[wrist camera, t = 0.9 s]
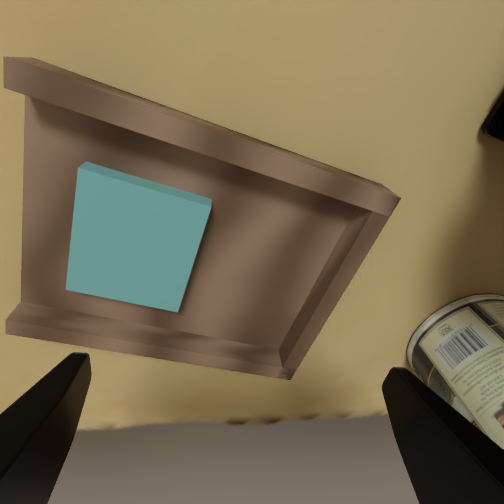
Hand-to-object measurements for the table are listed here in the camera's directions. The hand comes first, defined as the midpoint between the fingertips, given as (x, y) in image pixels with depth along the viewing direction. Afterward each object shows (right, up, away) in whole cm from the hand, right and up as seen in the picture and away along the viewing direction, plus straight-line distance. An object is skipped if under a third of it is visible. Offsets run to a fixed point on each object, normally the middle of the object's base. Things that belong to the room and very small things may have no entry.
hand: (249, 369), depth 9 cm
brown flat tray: (-4, +4, +12) cm, 13 cm away
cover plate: (-7, +4, +10) cm, 13 cm away
